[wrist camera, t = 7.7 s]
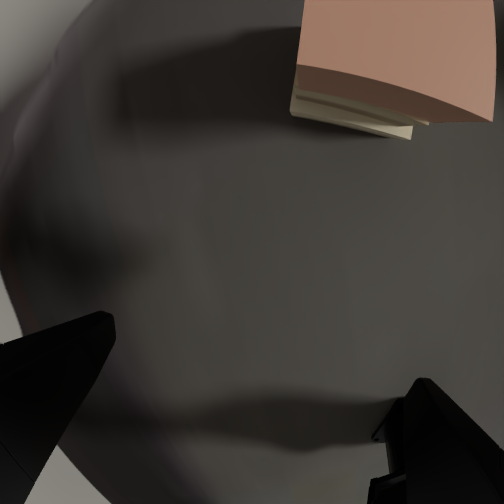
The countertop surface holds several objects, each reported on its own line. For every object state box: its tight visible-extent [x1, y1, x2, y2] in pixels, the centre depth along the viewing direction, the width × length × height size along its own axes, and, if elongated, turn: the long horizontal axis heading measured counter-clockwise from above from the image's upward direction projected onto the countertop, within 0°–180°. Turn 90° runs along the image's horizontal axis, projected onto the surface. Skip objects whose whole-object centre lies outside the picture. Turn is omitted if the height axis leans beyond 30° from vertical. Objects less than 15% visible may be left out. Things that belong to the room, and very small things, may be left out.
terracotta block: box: [297, 0, 496, 123], centre depth 6 cm, size 5×5×4 cm
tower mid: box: [294, 71, 429, 127], centre depth 10 cm, size 5×5×4 cm
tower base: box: [289, 66, 413, 140], centre depth 14 cm, size 6×6×4 cm
